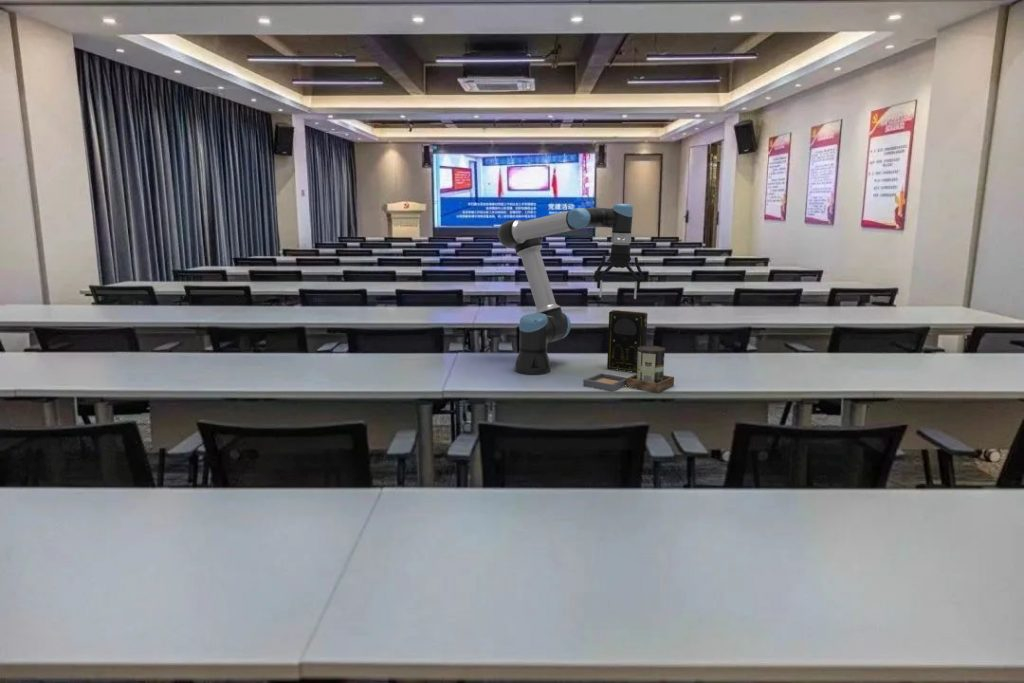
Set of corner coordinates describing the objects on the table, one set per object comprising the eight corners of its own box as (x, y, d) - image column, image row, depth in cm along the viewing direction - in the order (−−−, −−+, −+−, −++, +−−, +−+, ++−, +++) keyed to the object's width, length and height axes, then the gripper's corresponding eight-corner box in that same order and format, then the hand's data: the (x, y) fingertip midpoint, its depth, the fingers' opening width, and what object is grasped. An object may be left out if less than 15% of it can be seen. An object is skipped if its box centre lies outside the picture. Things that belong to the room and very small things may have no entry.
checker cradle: (583, 385, 265) (583, 379, 265) (600, 379, 275) (600, 373, 275) (612, 391, 257) (613, 385, 257) (629, 384, 267) (629, 378, 267)
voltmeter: (605, 369, 291) (607, 311, 286) (612, 365, 298) (614, 308, 293) (641, 374, 283) (643, 314, 278) (647, 369, 291) (650, 311, 286)
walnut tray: (625, 387, 264) (626, 378, 263) (642, 380, 274) (642, 371, 273) (658, 393, 256) (658, 384, 255) (673, 385, 266) (674, 376, 265)
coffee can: (659, 380, 270) (660, 345, 267) (666, 387, 260) (668, 350, 257) (633, 380, 269) (634, 345, 267) (639, 387, 259) (641, 351, 256)
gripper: (588, 243, 266) (585, 297, 271) (653, 245, 263) (649, 300, 267) (589, 241, 273) (586, 294, 278) (652, 244, 270) (649, 297, 275)
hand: (617, 297), depth 273 cm, fingers open, 13 cm apart
